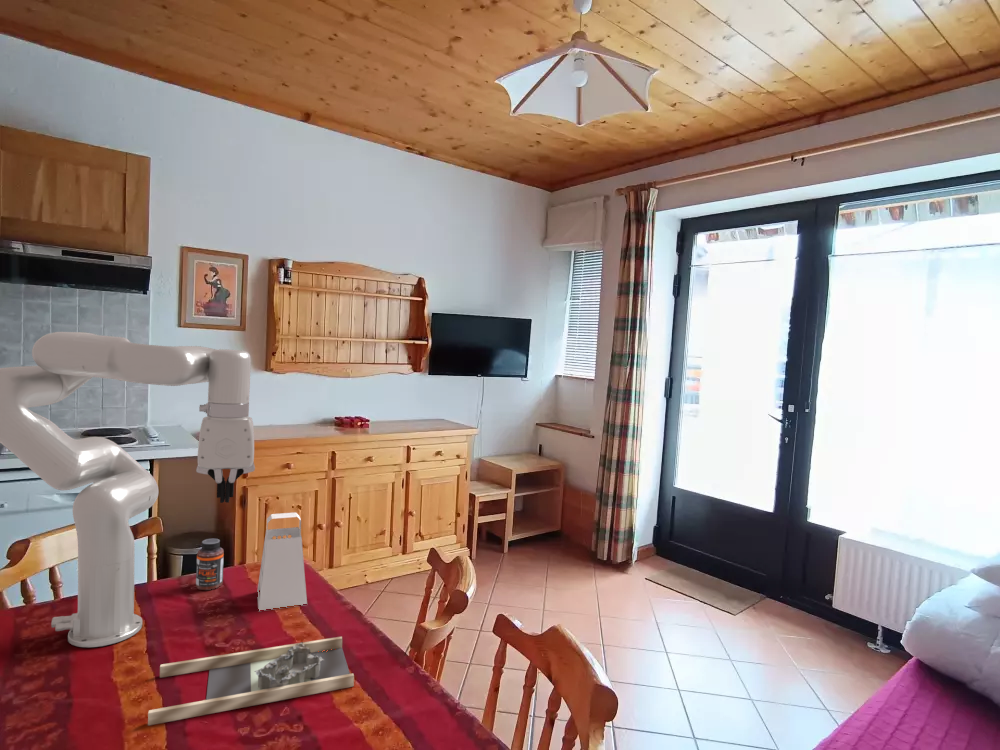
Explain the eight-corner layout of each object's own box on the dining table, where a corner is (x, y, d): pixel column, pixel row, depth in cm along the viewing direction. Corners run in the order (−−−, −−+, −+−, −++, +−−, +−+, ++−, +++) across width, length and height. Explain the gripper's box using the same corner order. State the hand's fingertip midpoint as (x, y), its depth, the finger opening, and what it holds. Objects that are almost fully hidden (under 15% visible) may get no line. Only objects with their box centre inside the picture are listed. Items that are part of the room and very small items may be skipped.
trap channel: (148, 725, 92) (148, 713, 92) (160, 675, 105) (160, 664, 105) (353, 686, 105) (354, 675, 104) (341, 646, 118) (341, 636, 118)
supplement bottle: (194, 592, 138) (195, 546, 138) (196, 582, 144) (197, 538, 143) (222, 589, 141) (223, 543, 140) (223, 579, 146) (224, 535, 146)
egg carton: (303, 660, 112) (304, 639, 112) (327, 675, 108) (328, 653, 107) (251, 684, 104) (251, 662, 103) (274, 701, 99) (275, 678, 99)
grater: (257, 592, 140) (259, 510, 139) (302, 586, 145) (305, 507, 144) (258, 611, 131) (260, 524, 130) (307, 604, 135) (309, 520, 134)
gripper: (183, 413, 110) (180, 508, 111) (268, 414, 116) (264, 504, 117) (188, 408, 117) (185, 497, 118) (268, 409, 123) (264, 494, 124)
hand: (224, 500), depth 117 cm, fingers closed
